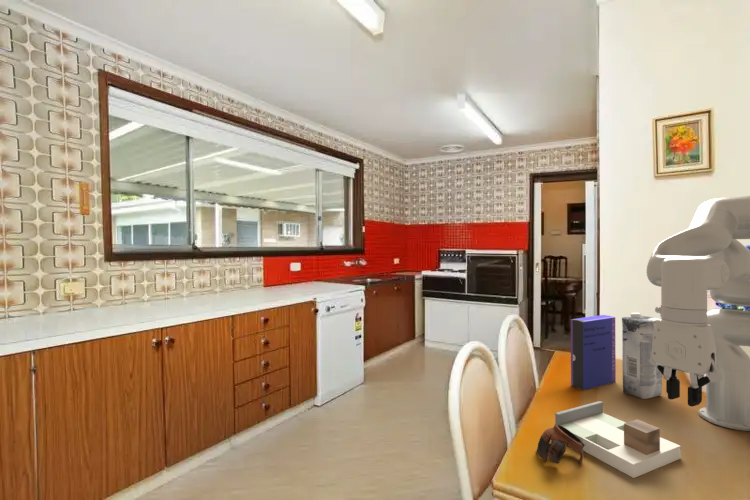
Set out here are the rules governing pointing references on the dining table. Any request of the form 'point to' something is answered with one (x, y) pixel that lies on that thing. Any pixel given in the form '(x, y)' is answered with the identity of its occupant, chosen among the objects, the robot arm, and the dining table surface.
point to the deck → (613, 440)
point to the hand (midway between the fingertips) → (683, 400)
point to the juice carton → (639, 357)
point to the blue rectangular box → (593, 351)
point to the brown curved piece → (558, 443)
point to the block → (642, 436)
